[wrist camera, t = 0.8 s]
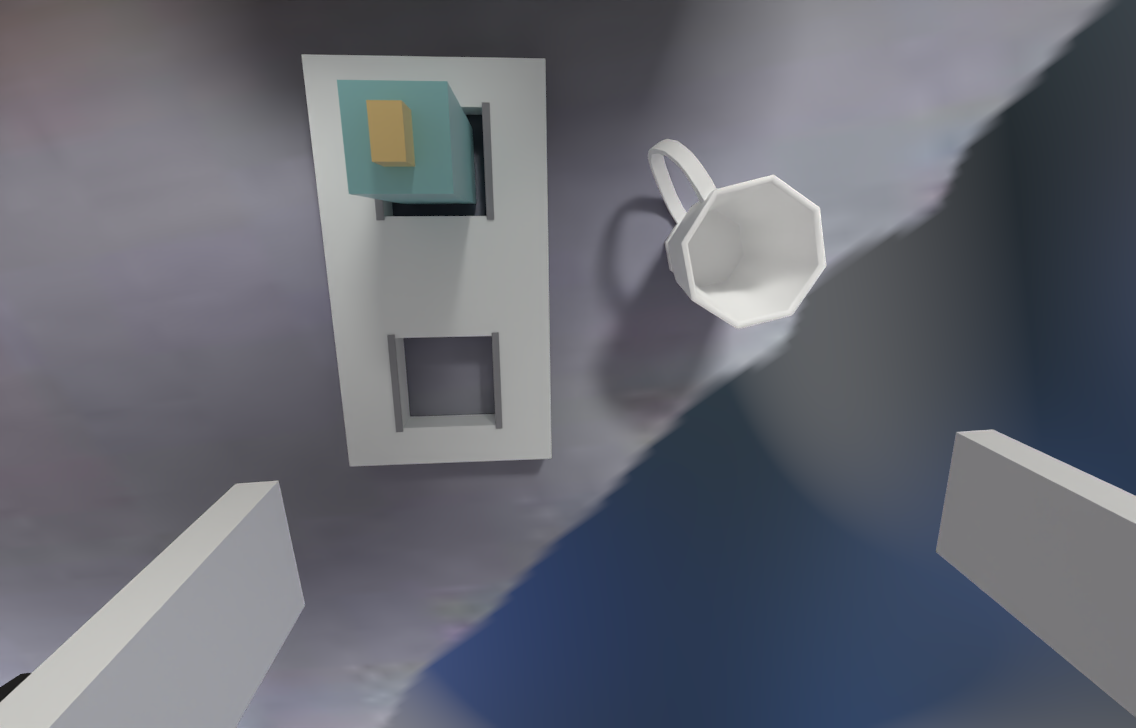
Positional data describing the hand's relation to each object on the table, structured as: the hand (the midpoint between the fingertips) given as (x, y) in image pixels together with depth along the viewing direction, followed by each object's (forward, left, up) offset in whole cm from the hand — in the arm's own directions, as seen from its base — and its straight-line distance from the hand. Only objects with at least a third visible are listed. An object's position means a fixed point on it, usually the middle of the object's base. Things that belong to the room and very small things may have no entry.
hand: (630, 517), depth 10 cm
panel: (-3, -7, -23) cm, 24 cm away
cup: (-5, +8, -23) cm, 25 cm away
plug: (-9, -7, -23) cm, 25 cm away
